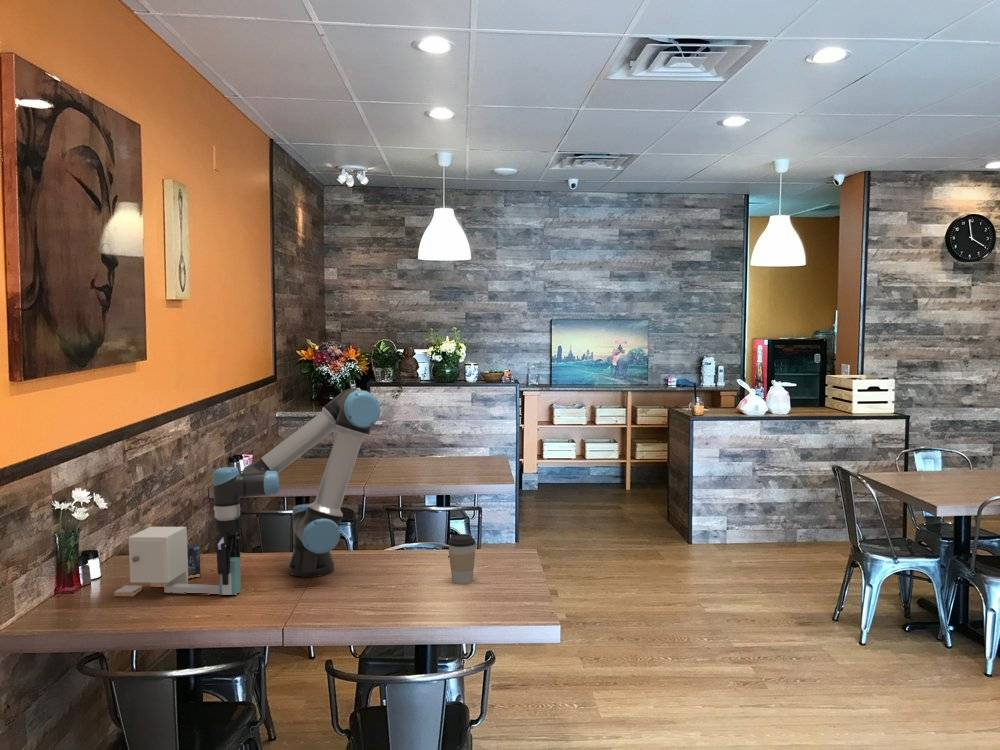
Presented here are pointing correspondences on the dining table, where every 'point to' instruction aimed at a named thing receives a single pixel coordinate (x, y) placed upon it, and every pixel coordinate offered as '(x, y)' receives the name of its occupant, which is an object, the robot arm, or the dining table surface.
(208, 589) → the hammer tool
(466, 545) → the coffee cup
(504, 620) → the dining table surface
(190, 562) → the box
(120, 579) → the dining table surface
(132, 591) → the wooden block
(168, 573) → the wall cabinet
